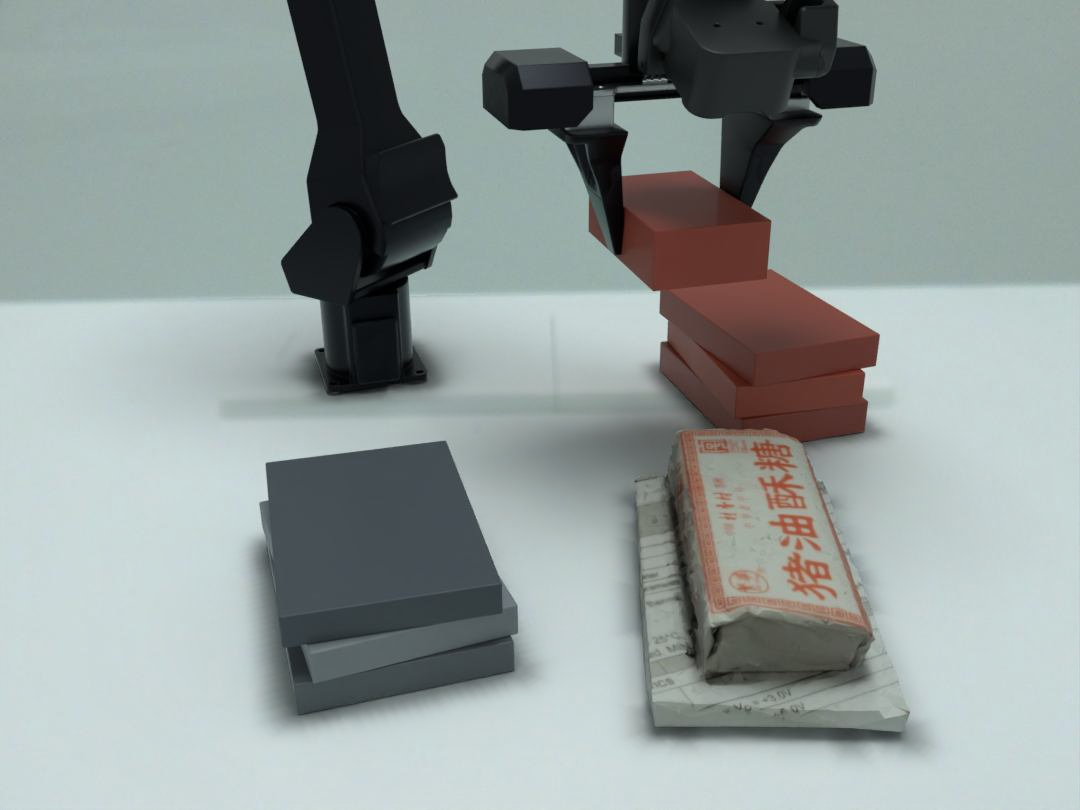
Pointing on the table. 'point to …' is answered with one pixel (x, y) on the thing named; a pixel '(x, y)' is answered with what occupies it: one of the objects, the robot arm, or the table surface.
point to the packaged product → (754, 593)
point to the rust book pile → (768, 357)
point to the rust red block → (688, 232)
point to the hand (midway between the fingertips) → (671, 247)
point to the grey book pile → (382, 576)
